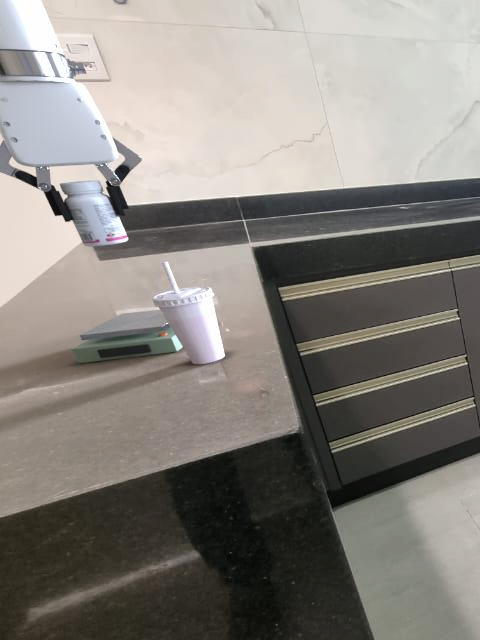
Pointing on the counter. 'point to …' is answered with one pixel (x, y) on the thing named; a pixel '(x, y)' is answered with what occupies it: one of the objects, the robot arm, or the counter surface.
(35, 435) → the counter surface
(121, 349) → the scale
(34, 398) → the counter surface
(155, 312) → the pan
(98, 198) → the pill bottle
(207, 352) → the smoothie
